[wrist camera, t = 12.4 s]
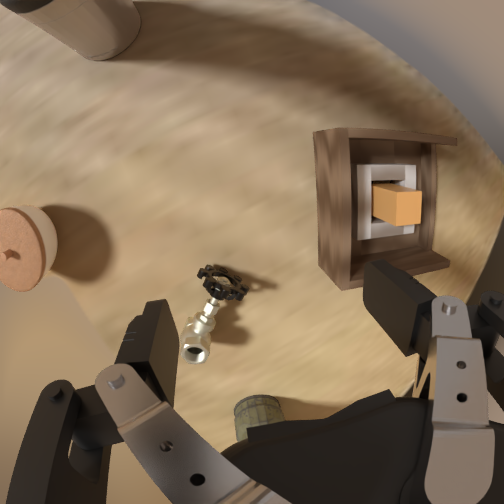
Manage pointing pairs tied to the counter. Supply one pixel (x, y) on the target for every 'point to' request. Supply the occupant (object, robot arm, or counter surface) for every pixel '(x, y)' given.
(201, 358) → the valve
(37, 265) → the lidded jar
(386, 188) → the orange rectangular block
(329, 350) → the counter surface
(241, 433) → the thermos
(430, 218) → the inlet box
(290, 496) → the robot arm
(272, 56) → the counter surface
